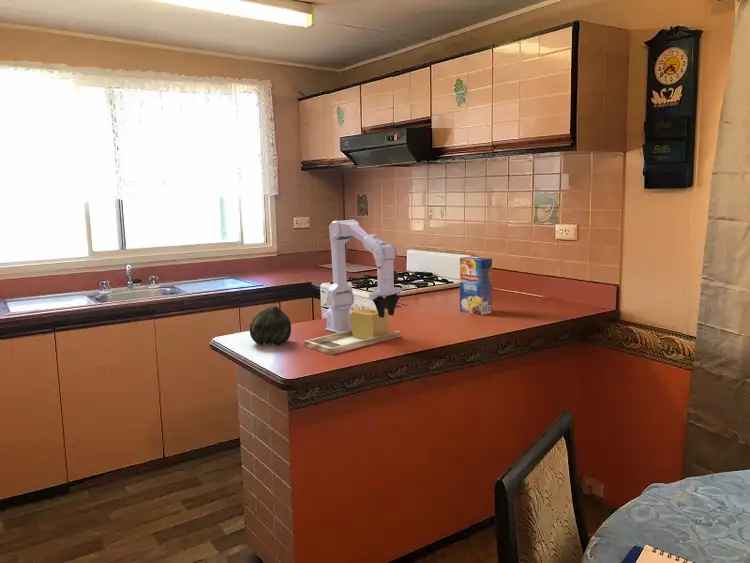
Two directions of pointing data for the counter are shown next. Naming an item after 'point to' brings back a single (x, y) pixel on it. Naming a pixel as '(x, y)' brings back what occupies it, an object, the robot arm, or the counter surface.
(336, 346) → the pad
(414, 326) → the counter surface
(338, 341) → the pad
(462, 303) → the juice carton
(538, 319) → the counter surface
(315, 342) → the lane rails
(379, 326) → the cheese
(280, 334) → the squash
